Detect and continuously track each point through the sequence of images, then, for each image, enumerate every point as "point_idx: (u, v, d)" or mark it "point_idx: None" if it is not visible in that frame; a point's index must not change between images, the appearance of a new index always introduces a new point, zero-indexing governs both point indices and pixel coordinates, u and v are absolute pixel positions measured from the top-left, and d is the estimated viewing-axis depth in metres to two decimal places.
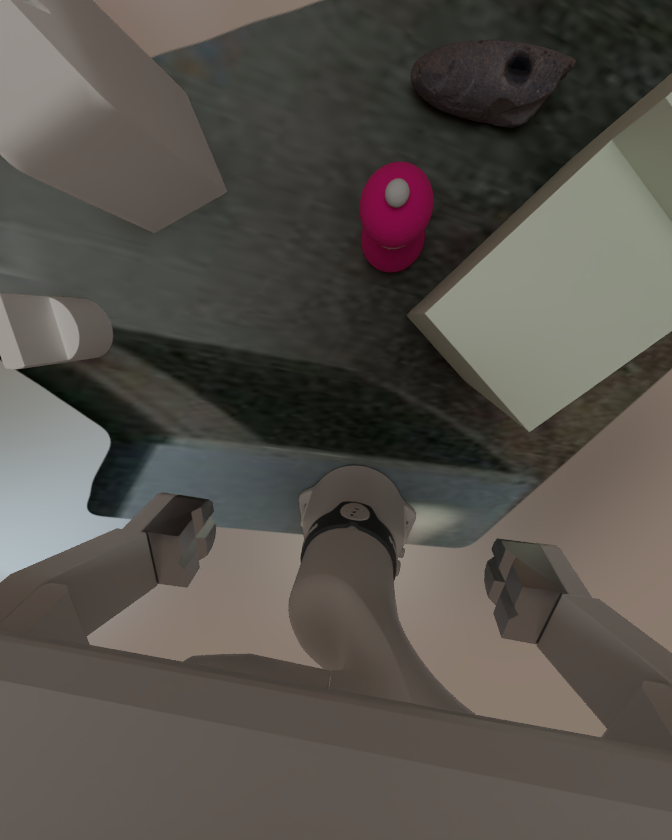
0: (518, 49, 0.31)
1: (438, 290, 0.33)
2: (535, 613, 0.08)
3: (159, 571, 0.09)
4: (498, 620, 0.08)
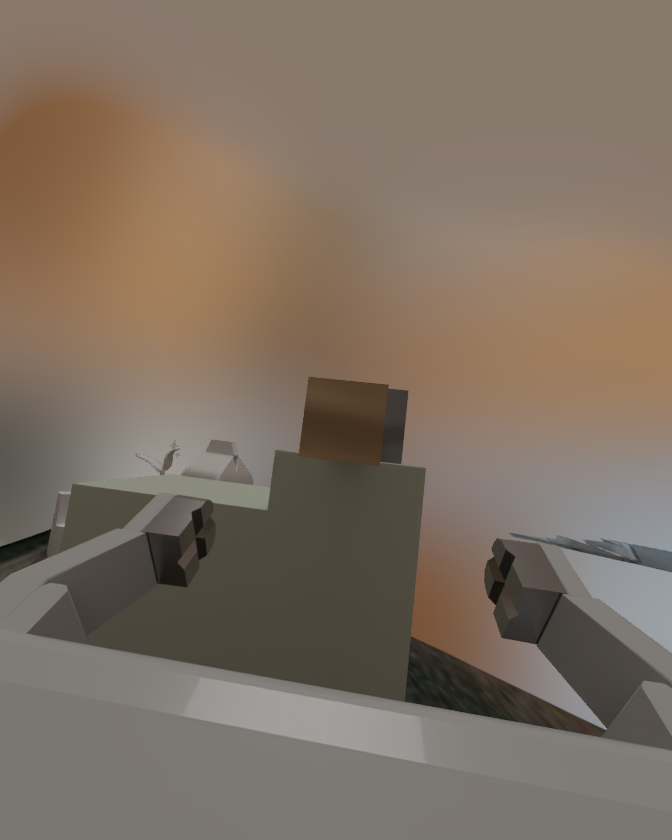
0: None
1: None
2: (535, 613, 0.08)
3: (159, 571, 0.09)
4: (499, 620, 0.08)
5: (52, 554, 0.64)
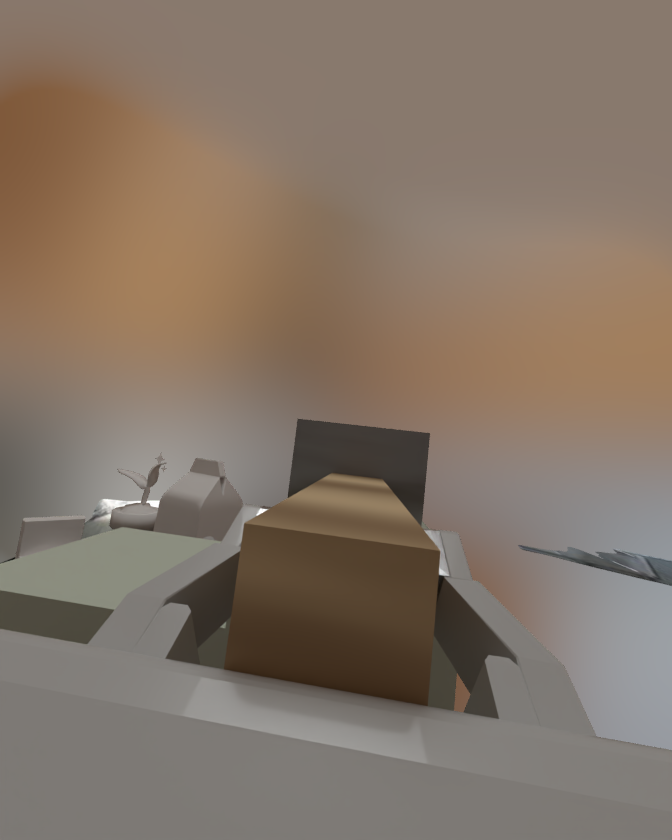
0: None
1: None
2: None
3: None
4: None
5: None
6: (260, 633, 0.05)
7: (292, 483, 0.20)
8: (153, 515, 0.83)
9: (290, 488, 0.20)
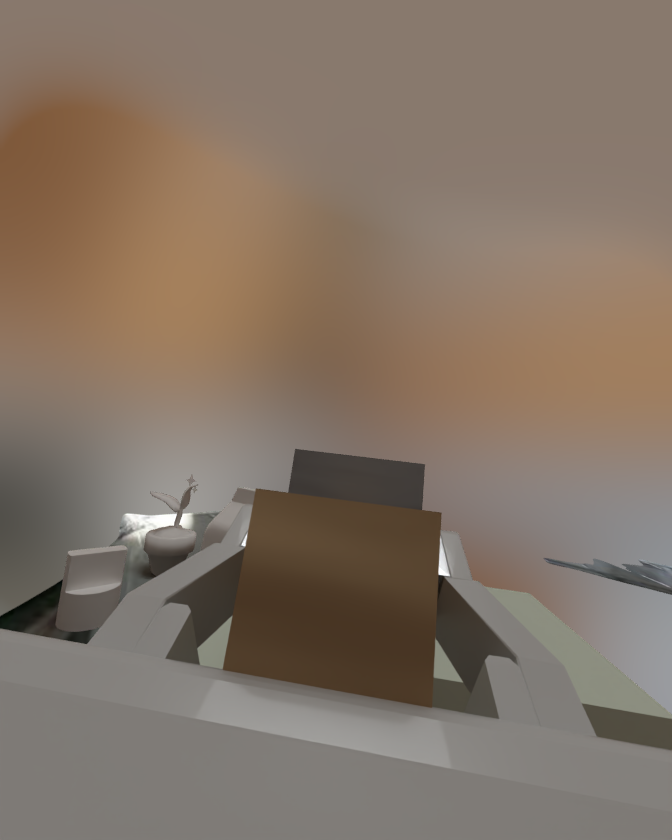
0: None
1: None
2: None
3: None
4: None
5: (62, 626, 0.56)
6: (267, 596, 0.05)
7: None
8: (187, 539, 0.82)
9: None
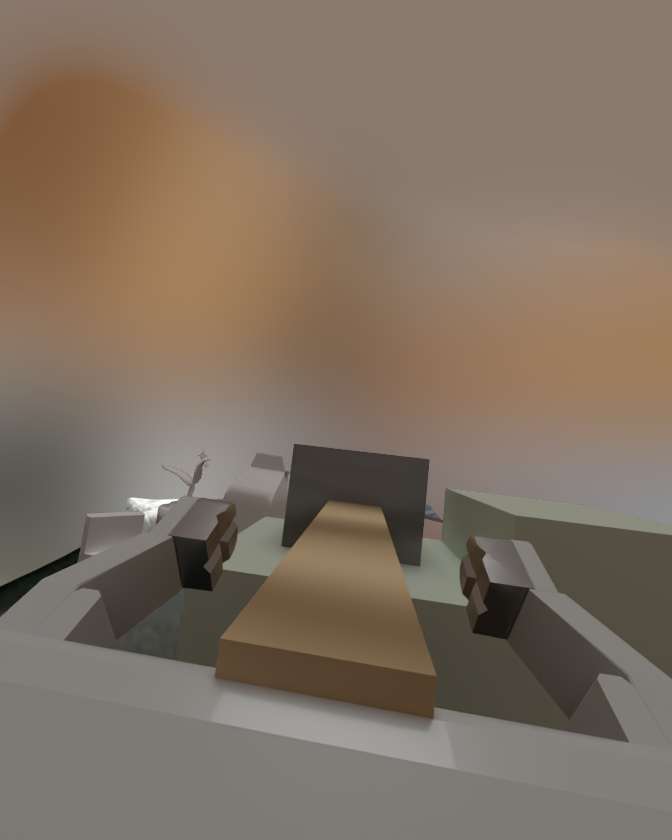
0: None
1: None
2: (504, 608, 0.08)
3: (185, 575, 0.09)
4: (470, 616, 0.08)
5: None
6: None
7: (288, 511, 0.20)
8: None
9: (286, 515, 0.20)
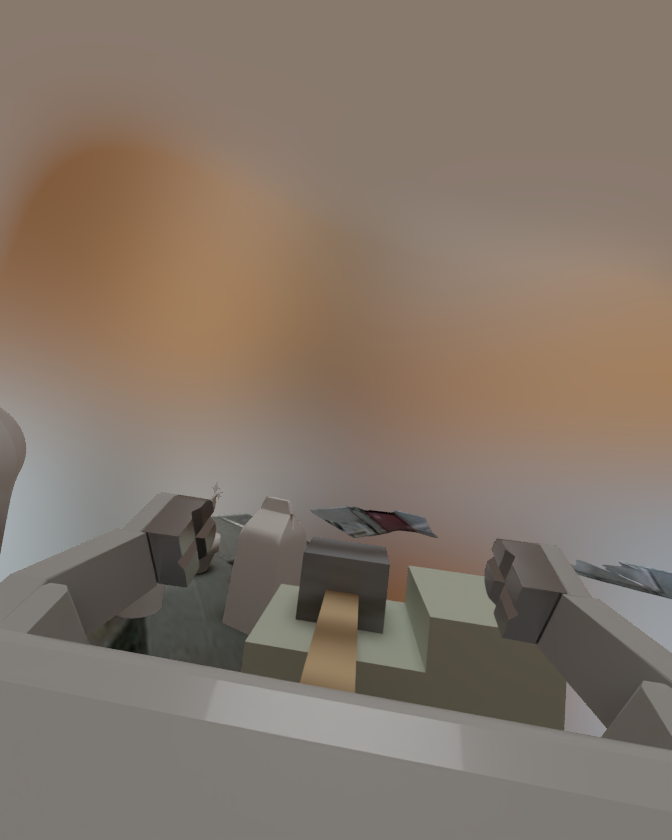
0: None
1: None
2: (535, 613, 0.08)
3: (160, 571, 0.09)
4: (498, 620, 0.08)
5: (120, 613, 0.67)
6: None
7: (300, 596, 0.31)
8: (214, 540, 0.93)
9: (298, 599, 0.31)
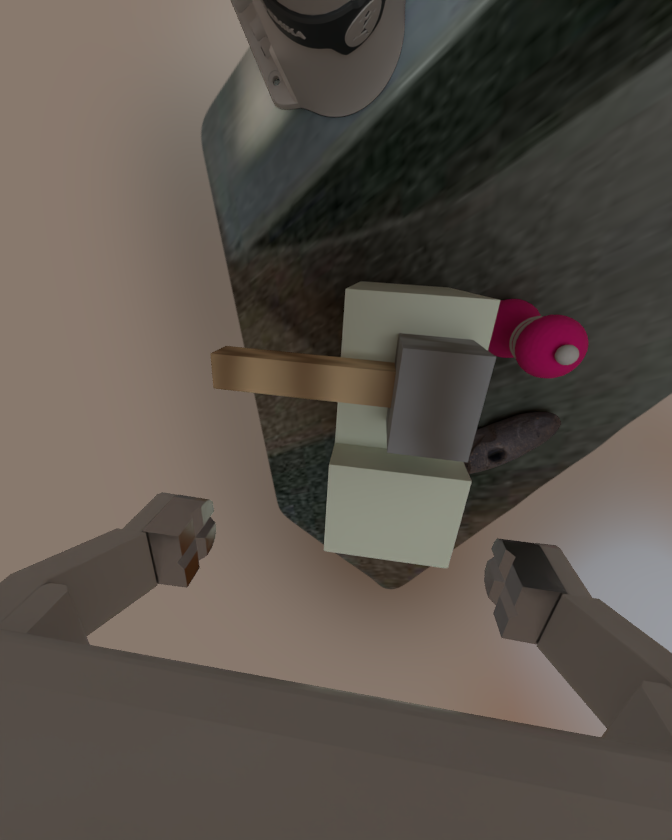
0: (503, 460, 0.48)
1: None
2: (535, 613, 0.08)
3: (159, 571, 0.09)
4: (499, 620, 0.08)
5: None
6: None
7: (399, 339, 0.26)
8: None
9: (400, 338, 0.26)
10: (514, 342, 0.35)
